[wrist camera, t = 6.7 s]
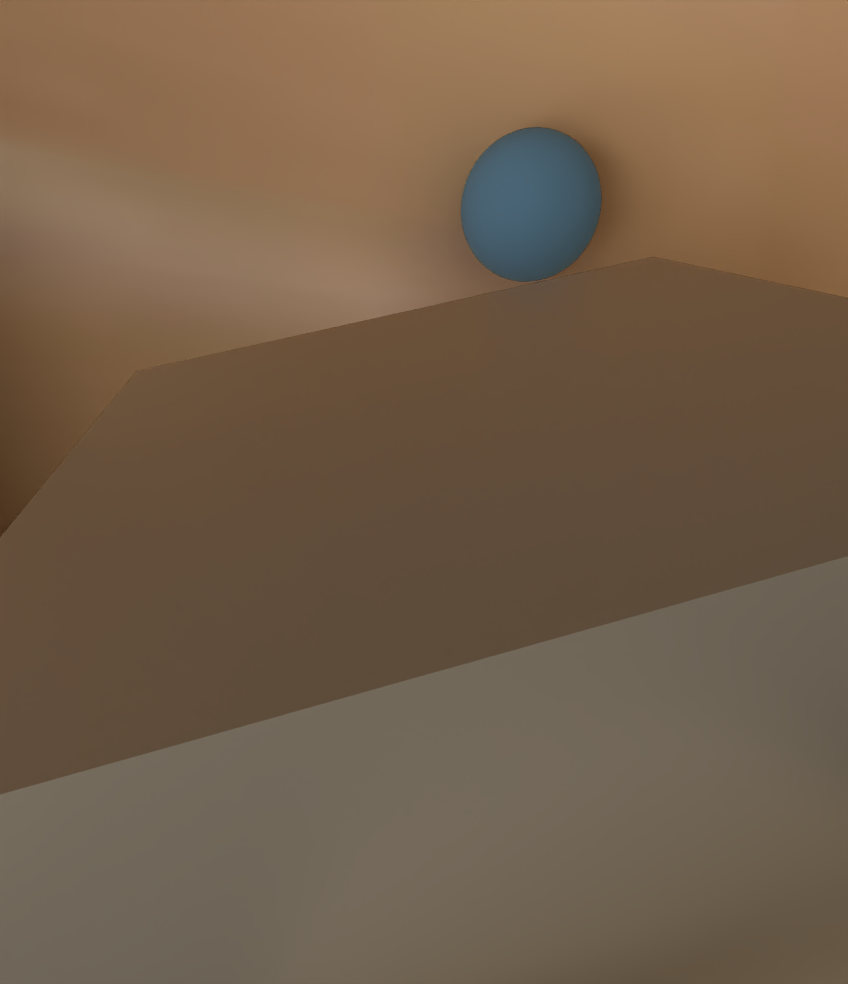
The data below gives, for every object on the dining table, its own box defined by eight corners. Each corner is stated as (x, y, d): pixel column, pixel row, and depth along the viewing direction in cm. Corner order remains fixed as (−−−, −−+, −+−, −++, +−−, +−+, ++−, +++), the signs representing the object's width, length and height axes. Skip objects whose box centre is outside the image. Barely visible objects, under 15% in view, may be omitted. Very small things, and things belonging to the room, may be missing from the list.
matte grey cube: (640, 628, 16) (935, 1008, 9) (293, 727, 16) (293, 1244, 8) (653, 256, 11) (1370, 409, 4) (136, 370, 10) (-274, 871, 3)
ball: (565, 261, 24) (625, 278, 20) (453, 281, 24) (490, 303, 20) (564, 123, 22) (632, 110, 18) (439, 142, 21) (478, 133, 17)
